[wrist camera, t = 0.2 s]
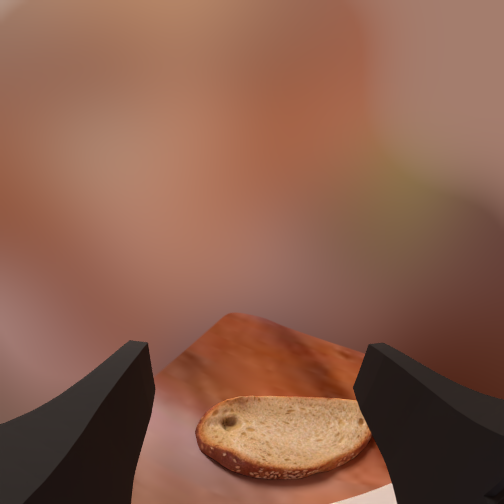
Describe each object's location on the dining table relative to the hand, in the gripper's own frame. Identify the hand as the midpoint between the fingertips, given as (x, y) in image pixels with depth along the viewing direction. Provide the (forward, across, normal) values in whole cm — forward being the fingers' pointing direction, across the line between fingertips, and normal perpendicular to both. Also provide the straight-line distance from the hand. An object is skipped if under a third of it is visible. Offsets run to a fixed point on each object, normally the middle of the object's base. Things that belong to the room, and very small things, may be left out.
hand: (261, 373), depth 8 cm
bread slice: (+12, -7, +22) cm, 26 cm away
